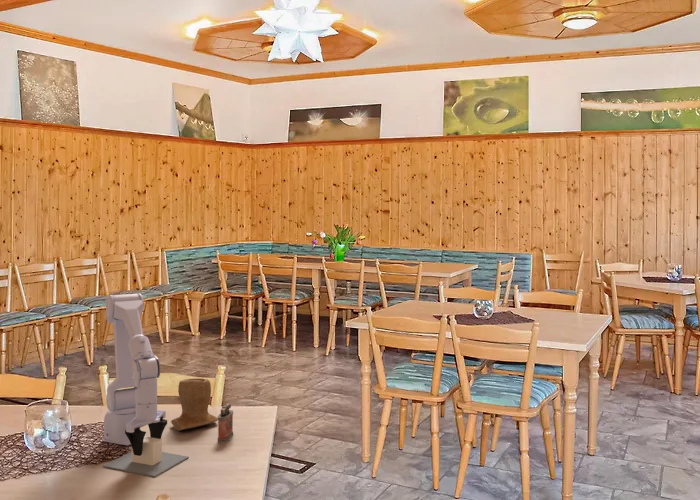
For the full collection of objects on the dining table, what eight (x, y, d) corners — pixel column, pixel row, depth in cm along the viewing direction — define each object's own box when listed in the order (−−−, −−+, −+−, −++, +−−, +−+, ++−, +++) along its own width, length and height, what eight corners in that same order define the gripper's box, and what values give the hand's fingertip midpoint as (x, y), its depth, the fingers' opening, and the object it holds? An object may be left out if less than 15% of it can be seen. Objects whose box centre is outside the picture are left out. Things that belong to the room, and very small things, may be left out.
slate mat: (103, 467, 193) (103, 465, 193) (139, 449, 207) (139, 447, 207) (155, 477, 187) (155, 475, 187) (188, 458, 200) (188, 456, 200)
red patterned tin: (225, 442, 213) (225, 410, 212) (215, 441, 214) (215, 409, 213) (235, 434, 221) (235, 402, 220) (225, 433, 222) (225, 401, 221)
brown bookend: (202, 416, 238) (202, 371, 237) (222, 424, 230) (223, 378, 229) (161, 425, 228) (161, 379, 227) (181, 435, 219) (181, 387, 218)
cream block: (152, 465, 193) (152, 443, 193) (131, 461, 196) (131, 440, 196) (161, 460, 197) (161, 439, 197) (140, 456, 200) (140, 435, 199)
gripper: (141, 410, 187) (141, 461, 188) (174, 396, 201) (174, 444, 202) (119, 407, 190) (119, 457, 191) (153, 393, 203) (154, 440, 204)
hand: (146, 450), depth 196 cm, fingers open, 7 cm apart
